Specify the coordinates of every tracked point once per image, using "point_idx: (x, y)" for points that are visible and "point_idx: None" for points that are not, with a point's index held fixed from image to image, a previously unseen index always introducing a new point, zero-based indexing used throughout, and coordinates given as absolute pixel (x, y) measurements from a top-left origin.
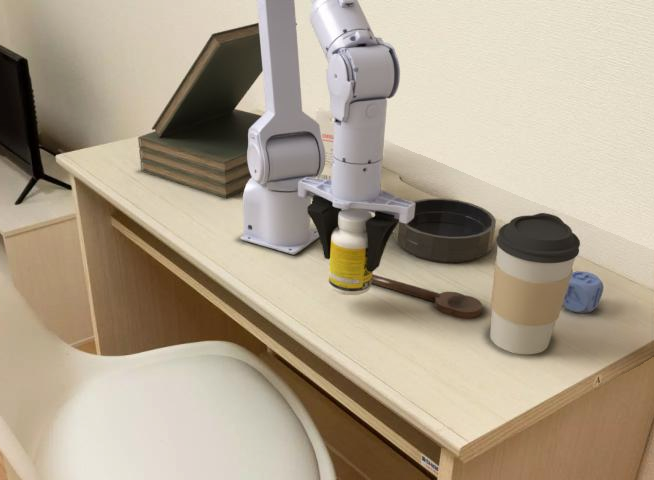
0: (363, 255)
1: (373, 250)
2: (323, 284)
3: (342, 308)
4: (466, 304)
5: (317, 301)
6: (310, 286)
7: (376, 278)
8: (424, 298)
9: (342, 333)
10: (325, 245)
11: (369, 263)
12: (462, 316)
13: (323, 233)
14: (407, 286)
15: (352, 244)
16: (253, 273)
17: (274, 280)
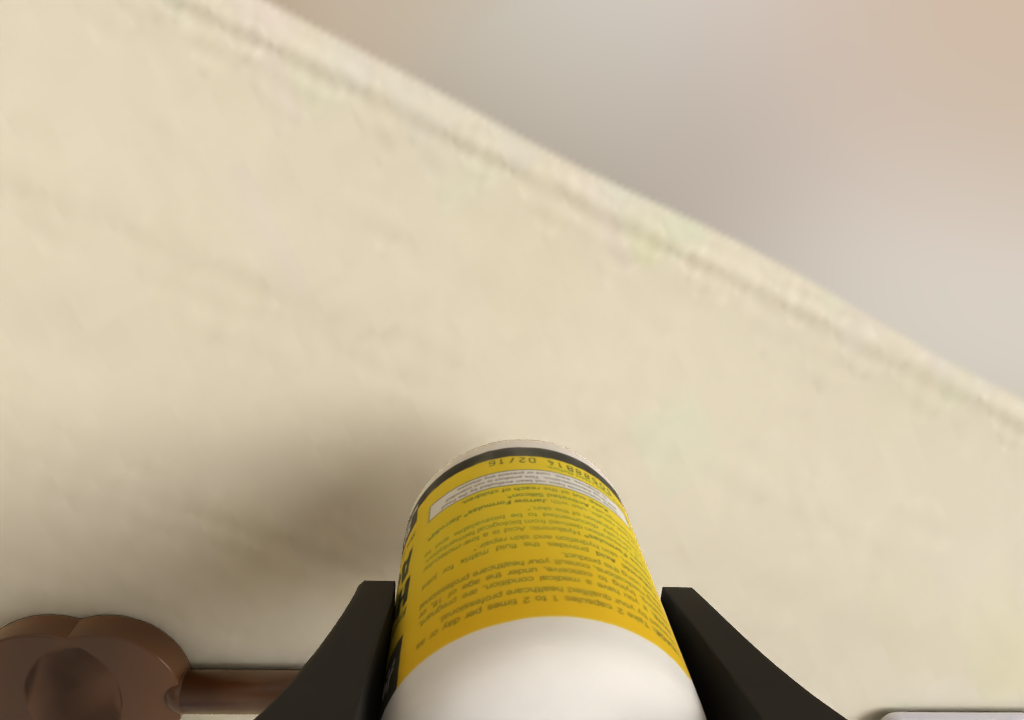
0: (409, 635)
1: (316, 677)
2: (680, 575)
3: None
4: (32, 694)
5: (648, 442)
6: (725, 535)
7: None
8: (240, 670)
9: (427, 250)
10: (716, 638)
11: (368, 607)
12: (24, 621)
13: (768, 700)
14: None
15: (483, 657)
16: (997, 512)
17: (890, 505)
